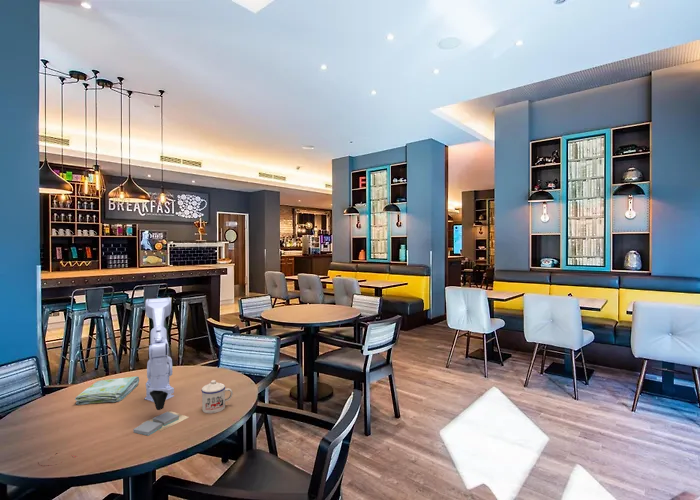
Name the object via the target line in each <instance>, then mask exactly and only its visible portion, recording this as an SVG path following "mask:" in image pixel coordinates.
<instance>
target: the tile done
mask: <svg viewBox="0 0 700 500" xmlns="http://www.w3.org/2000/svg"><path fill="white" fill-rule="evenodd" d="M145 421H146V422H145ZM145 421H143V422H144V423H143V422H142V423H143V424H141V423H140V424H139V425H138V426H136V427H135V428H133V430H132V431H133V433H134V434H140V435H144V436H148V437H149V436H151V435H153V434H154V433H156V431H158V430H159V429H160V428H162V423H157V422H152V421H147V420H145Z"/></svg>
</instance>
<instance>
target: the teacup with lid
mask: <svg viewBox="0 0 700 500" xmlns="http://www.w3.org/2000/svg"><path fill="white" fill-rule="evenodd" d="M200 391H201V397H202V398H201V402H202V403H201V405H202V407H201V408H202V412H203V413H205V414H215V413H219V412H222V411H223V410H225V408H226V402H228V401H230V400H231V398H233V395H234V394H233V390H232V389H231V388H226V385H225V384H224V383H221V382H217V380H215V379H212V380H211V381H210V382H209V383H208V384H205V385H204V386H203V387H202V388H201V390H200ZM226 392H230V395H229V396H228V397H227V398H226V397H225V395H226Z"/></svg>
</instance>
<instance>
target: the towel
mask: <svg viewBox="0 0 700 500" xmlns="http://www.w3.org/2000/svg"><path fill="white" fill-rule="evenodd" d="M139 382H140V378H139V376H138V375H137V376H128V377H127V376H126V377H121V378H120V377H119V378H111V379H110V378H108V379H104V380H97V381H95V382H94V383H92V384H91V385H90V386H88V387H87V388H86V389H84V390H83V391H82V392H81V393H79V394H77V395H76V397H75V398H74V400H75V401H76V402H75V404H76V405H90V404H100V403H116V402H117V403H118V402H121V401H122V400H124V399H125V398H126V397H127V396H128V395H129V394H130V393H131V392H133V391H134V390H135V389H136V387H138V384H139Z"/></svg>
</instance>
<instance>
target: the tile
mask: <svg viewBox="0 0 700 500" xmlns="http://www.w3.org/2000/svg"><path fill="white" fill-rule="evenodd" d="M152 418H153V422H157V423H162V425H163V426H166V425H168V424H170V423H172V422H174V421H176V420H178V419H179V416H178V415H176V414H173V413H170V412H168V411H165V412H164V413H161V414H159V415H156V416H155V417H152Z"/></svg>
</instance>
